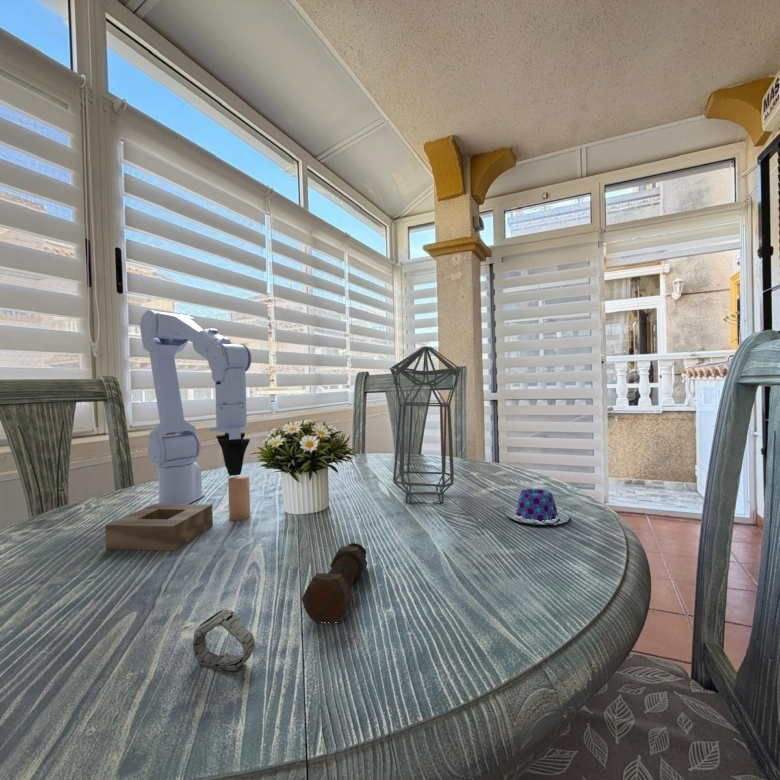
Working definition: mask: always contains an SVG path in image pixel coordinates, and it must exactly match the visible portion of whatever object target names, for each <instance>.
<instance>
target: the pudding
mask: <svg viewBox="0 0 780 780" xmlns="http://www.w3.org/2000/svg"><path fill="white" fill-rule="evenodd" d="M516 507H517V509H516V515H518V516H522V517H523V518H525V519H530V520H531V519H534V520H539V521H542V520H544V521H545V520H547V519H548V520H550V519H551V520H552V519H555V518H556V516H558V512H557V510H558V508H557V506H556V501H555V498H554V496H553V493H551V491H548V490H545V489H541V488H540V489H539V488H526V489H522V490H521V491H520V493H519V496H518V501H517V505H516Z"/></svg>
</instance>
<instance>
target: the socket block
mask: <svg viewBox="0 0 780 780" xmlns="http://www.w3.org/2000/svg"><path fill="white" fill-rule="evenodd" d="M213 521H214V520H213V504H191V503H189V504H153V505H150V504H149V505H148V506H146V507H144V508H142V509H140V510H137V511H135V512H132V513H130V514H128V515H125V516H123V517H121V518H119V519H116V520H114V521H112V522H110V523H107V524H105V525H104V527H105V528H104V529H105V531H104V532H105V550H120V551H121V550H123V551H124V550H131V551H174V552H175V551H176V550H177V549H179V548H181V547H182V546H184V545H185V544H186V543H188V542H190V541H192V540H193V539H195V538H196V537H197V536H199V535H200V534H202V533H204V532H205V531H206V530H208V529H209V528H212V527H213V525H214V523H213Z"/></svg>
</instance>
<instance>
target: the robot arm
mask: <svg viewBox="0 0 780 780" xmlns="http://www.w3.org/2000/svg"><path fill="white" fill-rule="evenodd" d="M139 330H140V336H141V343H142V348H143V350H145V351H147V352H149V359H150V365H151V372H152V373H151V374H152V378H153V385H154V386H153V387H154V392H155V399H156V404H157V405H156V406H157V412H158V417H159V418H158V419H159V423H158V425H157V426H155V427H154V428H153V429H152V430H151V431H150V432H149V434H148V448H147V453H148V458H149V460H150V462H151V463H153V465H154V466H155V467H157V469H158V470H157V476H158V477H157V479H158V500H157V501H154V502H153V503H150V504H149V506H150V505H153V504H191V503H193V502H195V501H197V500H199V499H201V498H203V497H206V493H202V492H203V488H202V469H201V466H200V465H199V463H198V462H197V459H198V458H199V457H200V455H201V453H202V452H201V451H202V442H201V439H200V437H199V436H198V432H197V428H196V426H195V425H193V424H192V423H190V422H188V421H187V420H186V419H185V416H184V409H183V403H182V397H181V391H180V390H181V389H180V384H179V379H178V373H177V366H176V365H177V364H176V359H175V356H176V354H177V353H180V352H182V351H183V350H185V347H186V346H187V345H188V343H189V342H190V343H192V347H193V350H194V351H195V352H196V353H197V354H199V355H200V356H201V357H203V358H204V359H206V360H207V362H208V366H209V367H208V368H209V369H210V371H211V378H212V381H214V387H215V390H214V391H215V393H214V394H215V421H216V423H215V425H216V426H215V425H214V426H210V427H209V430H210V431H211V432H213V431H214V432H215V431H216V432H220V433H221V432H222V433H224V434H218V435H215V437H216V439H217V442H218V444H219V446H220V449H221V451H222V456H223V461H224V465H225V468H226V470H227V473H228V476H229V477H235V476H241V474H242V469H243V465H244V464H243V463H244V458H245V453H246V450H247V447H248V445H249V444H250V441H251V440H250V438H245V436H246V434H245V432H244V431H246V430H248V428H249V425H248V422H247V421H248V418H247V383H246V382H247V381H246V378H247V377H246V372H248V370H249V369H250V367H251V365H252V354H251V351H250V349H249V348H248V346H247V345H246V344H244V343H239V344H234V343H233V342H231V339H230V338H228V337H224V336H222V335H221V334H219V330H218V329H216V328H211V327H209V328H206V329H204V328H202V327H201V326H199V325H198V324H197V323H196V322H195V318H194V317H193V316H191V315H190V314H184V313H183V314H180V313H171V312H163V311H157V310H152V309H147V310H146V311H145V312H144V313H142V316H141V319H140V323H139Z"/></svg>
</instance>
